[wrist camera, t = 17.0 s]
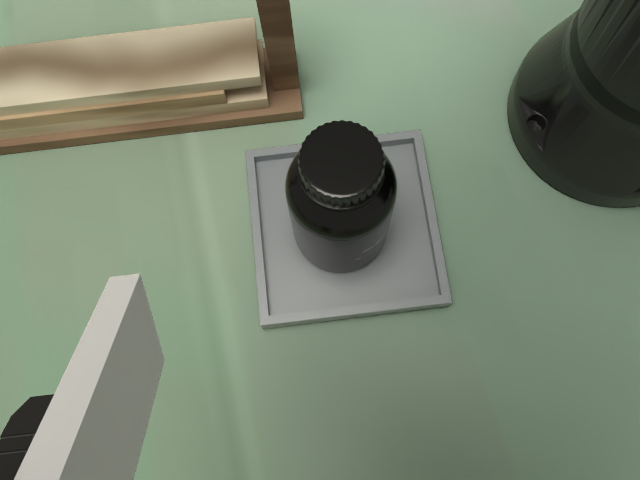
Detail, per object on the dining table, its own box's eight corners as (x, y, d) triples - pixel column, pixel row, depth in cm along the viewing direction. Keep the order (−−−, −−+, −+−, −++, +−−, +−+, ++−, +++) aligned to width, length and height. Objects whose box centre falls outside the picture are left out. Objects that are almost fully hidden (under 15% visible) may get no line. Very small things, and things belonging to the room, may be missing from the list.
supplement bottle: (385, 277, 44) (400, 223, 32) (290, 271, 44) (271, 215, 32) (390, 187, 46) (405, 106, 34) (298, 182, 46) (283, 100, 34)
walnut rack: (-35, 92, 50) (-226, -79, 33) (295, 52, 50) (272, -138, 33) (-39, 159, 48) (-243, 14, 31) (303, 118, 48) (283, -48, 31)
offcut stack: (0, 80, 49) (-29, 50, 45) (263, 48, 49) (256, 16, 45) (-3, 140, 47) (-33, 115, 43) (269, 107, 47) (263, 79, 43)
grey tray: (248, 159, 47) (245, 150, 46) (418, 138, 47) (420, 129, 46) (263, 328, 43) (260, 325, 42) (448, 306, 43) (452, 302, 42)
